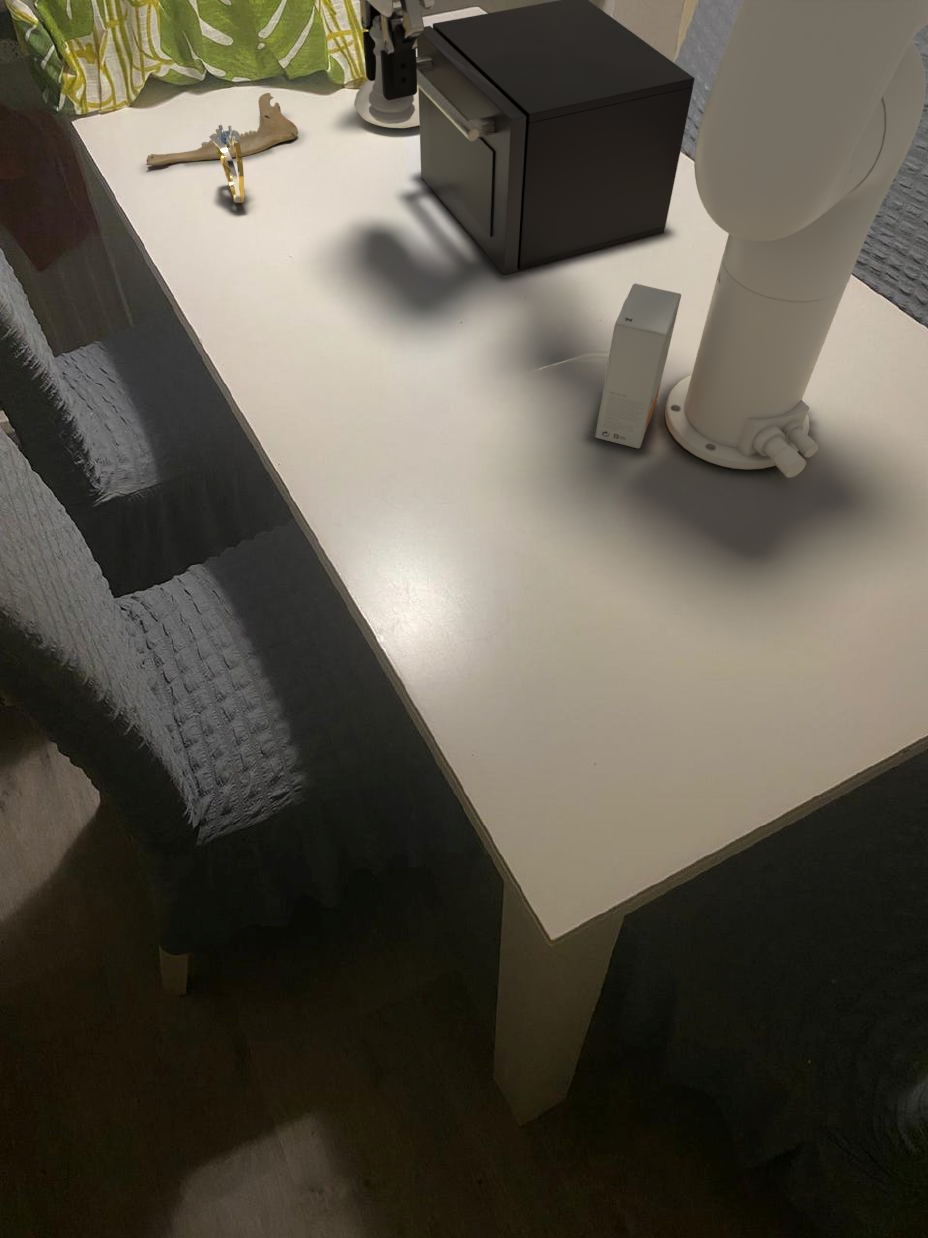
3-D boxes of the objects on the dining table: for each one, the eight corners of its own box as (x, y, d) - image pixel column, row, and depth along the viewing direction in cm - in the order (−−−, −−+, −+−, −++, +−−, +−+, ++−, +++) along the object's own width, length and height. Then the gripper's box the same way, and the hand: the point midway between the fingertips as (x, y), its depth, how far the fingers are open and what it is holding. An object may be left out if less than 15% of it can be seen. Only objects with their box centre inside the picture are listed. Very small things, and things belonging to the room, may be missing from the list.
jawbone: (319, 133, 113) (318, 116, 112) (194, 200, 104) (191, 183, 103) (269, 105, 116) (267, 88, 114) (143, 168, 107) (139, 151, 105)
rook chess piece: (418, 104, 87) (415, 10, 81) (412, 126, 84) (408, 31, 78) (372, 102, 87) (365, 8, 81) (365, 124, 85) (357, 28, 78)
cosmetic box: (640, 450, 79) (666, 335, 69) (593, 439, 80) (613, 323, 70) (656, 407, 82) (683, 291, 73) (611, 396, 83) (631, 280, 73)
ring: (257, 213, 101) (244, 141, 95) (229, 218, 101) (213, 146, 94) (245, 183, 105) (232, 111, 99) (218, 187, 105) (202, 116, 98)
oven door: (477, 282, 93) (480, 126, 81) (396, 182, 105) (388, 32, 93) (517, 271, 95) (526, 116, 82) (433, 173, 106) (430, 24, 94)
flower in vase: (405, 87, 120) (394, -153, 100) (462, 117, 115) (463, -129, 95) (327, 118, 115) (299, -129, 95) (384, 151, 110) (367, -102, 90)
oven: (519, 272, 95) (529, 113, 82) (435, 174, 107) (432, 22, 94) (664, 233, 99) (695, 77, 87) (568, 144, 111) (582, -5, 98)
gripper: (467, -145, 66) (465, 117, 80) (382, -200, 74) (394, 45, 89) (372, -132, 64) (388, 133, 79) (296, -191, 73) (323, 58, 87)
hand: (391, 84), depth 84 cm, fingers closed on rook chess piece, 3 cm apart
